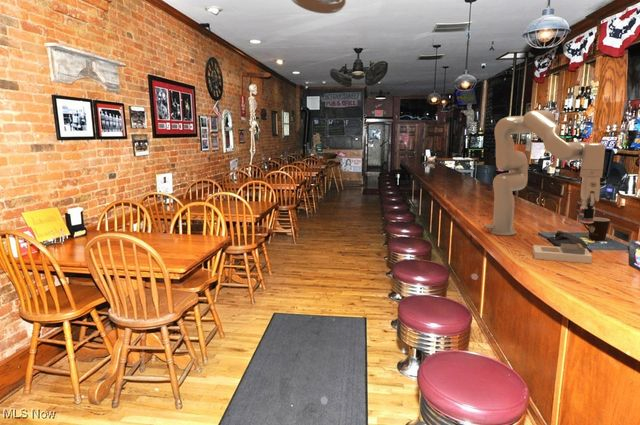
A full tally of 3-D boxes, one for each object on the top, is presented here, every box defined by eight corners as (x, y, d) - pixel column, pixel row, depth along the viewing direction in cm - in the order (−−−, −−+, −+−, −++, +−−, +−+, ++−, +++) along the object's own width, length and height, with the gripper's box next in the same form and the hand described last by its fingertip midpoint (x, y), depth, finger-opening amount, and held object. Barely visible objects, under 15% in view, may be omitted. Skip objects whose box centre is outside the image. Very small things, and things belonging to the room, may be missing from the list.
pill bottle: (575, 220, 167) (577, 200, 165) (586, 220, 167) (589, 199, 166) (585, 223, 162) (587, 202, 160) (596, 223, 162) (599, 201, 160)
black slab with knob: (554, 251, 175) (555, 241, 174) (545, 238, 195) (546, 229, 194) (595, 253, 170) (596, 243, 169) (581, 240, 190) (582, 231, 189)
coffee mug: (611, 242, 184) (613, 221, 182) (590, 241, 186) (592, 221, 184) (599, 235, 195) (601, 216, 193) (580, 235, 197) (582, 216, 195)
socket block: (534, 258, 165) (535, 252, 164) (532, 251, 175) (533, 245, 174) (591, 263, 157) (592, 256, 156) (586, 255, 167) (586, 248, 166)
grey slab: (563, 252, 162) (563, 246, 161) (560, 247, 168) (561, 241, 168) (584, 254, 159) (585, 247, 158) (581, 249, 165) (581, 242, 165)
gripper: (608, 176, 151) (602, 221, 155) (596, 171, 167) (592, 212, 170) (585, 175, 154) (580, 220, 158) (576, 171, 170) (572, 212, 173)
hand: (586, 216), depth 164 cm, fingers closed on pill bottle, 5 cm apart
